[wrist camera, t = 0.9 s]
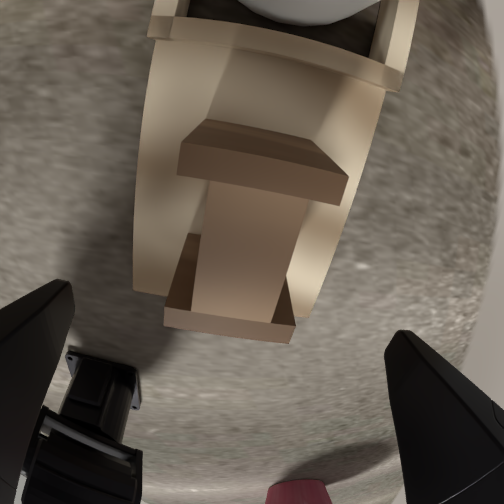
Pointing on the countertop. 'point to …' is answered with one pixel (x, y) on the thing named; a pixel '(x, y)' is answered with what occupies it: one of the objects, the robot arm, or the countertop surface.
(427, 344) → the robot arm
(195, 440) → the countertop surface
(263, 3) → the can
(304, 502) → the plant pot
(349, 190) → the wooden divided tray
